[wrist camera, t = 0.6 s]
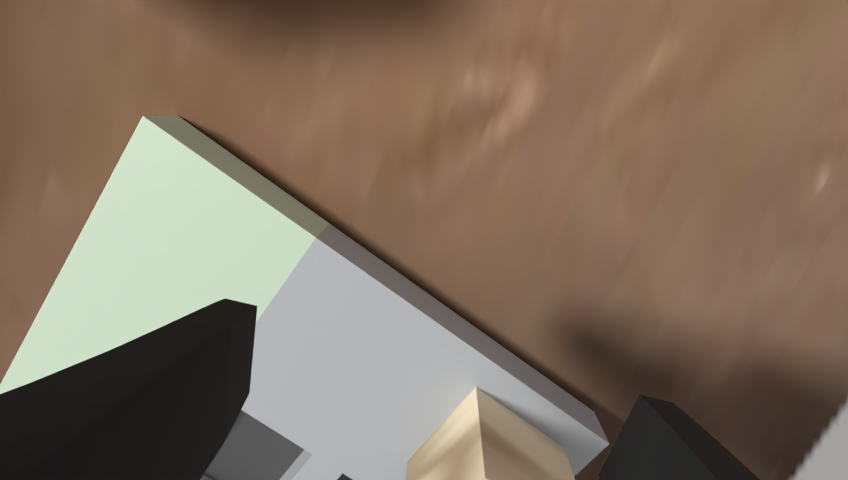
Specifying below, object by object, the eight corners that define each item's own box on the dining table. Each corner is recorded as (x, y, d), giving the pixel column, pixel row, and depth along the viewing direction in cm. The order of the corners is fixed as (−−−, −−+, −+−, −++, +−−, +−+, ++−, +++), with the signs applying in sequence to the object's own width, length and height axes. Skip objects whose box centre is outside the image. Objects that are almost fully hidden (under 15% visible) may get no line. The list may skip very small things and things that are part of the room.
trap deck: (384, 613, 24) (379, 657, 22) (19, 399, 21) (-23, 428, 19) (594, 411, 20) (609, 443, 18) (176, 114, 17) (143, 116, 15)
